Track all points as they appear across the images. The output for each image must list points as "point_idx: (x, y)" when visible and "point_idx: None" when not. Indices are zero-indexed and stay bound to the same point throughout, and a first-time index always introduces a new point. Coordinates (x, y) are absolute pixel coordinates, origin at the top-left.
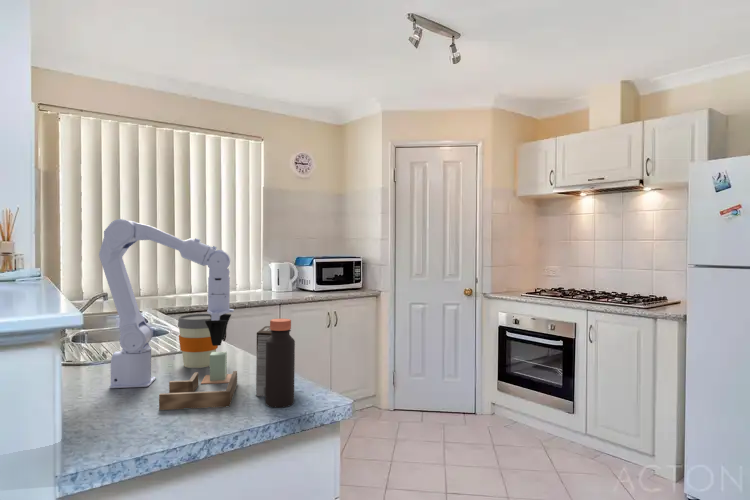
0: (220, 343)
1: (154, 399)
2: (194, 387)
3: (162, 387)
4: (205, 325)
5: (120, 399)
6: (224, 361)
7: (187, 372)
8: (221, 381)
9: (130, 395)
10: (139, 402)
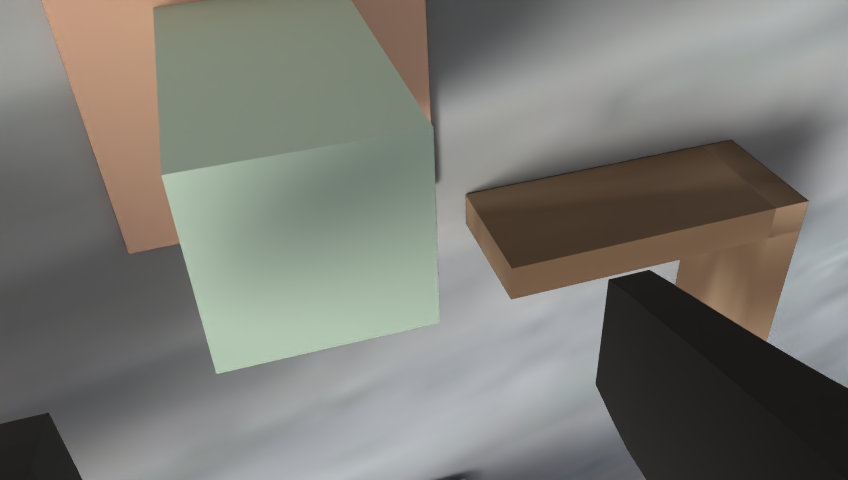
0: (680, 290)
1: None
2: (670, 176)
3: (480, 403)
4: None
5: None
6: (399, 84)
7: None
8: (397, 7)
9: (613, 468)
10: None
